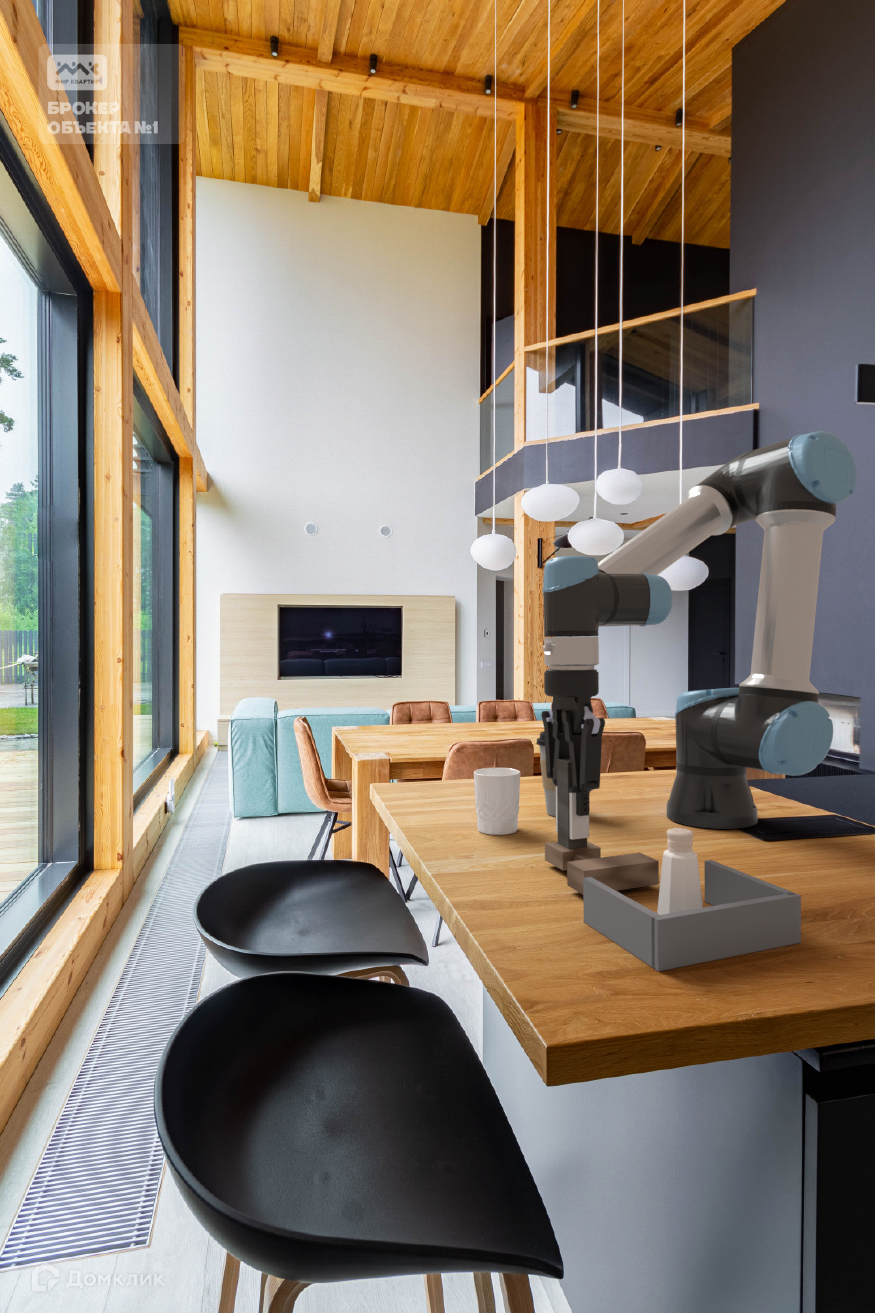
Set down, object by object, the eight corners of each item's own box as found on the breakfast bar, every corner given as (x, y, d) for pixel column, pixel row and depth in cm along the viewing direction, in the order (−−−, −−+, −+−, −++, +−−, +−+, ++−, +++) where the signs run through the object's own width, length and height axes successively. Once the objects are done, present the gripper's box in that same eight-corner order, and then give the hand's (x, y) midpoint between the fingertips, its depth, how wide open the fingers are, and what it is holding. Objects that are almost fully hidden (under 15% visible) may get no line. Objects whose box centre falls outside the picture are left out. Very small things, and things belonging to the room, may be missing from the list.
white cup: (471, 825, 127) (470, 768, 127) (516, 823, 128) (515, 767, 128) (477, 837, 119) (477, 776, 119) (525, 835, 120) (524, 775, 120)
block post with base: (596, 853, 107) (595, 755, 106) (658, 884, 93) (658, 771, 93) (529, 862, 103) (528, 760, 103) (583, 895, 89) (583, 777, 89)
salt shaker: (691, 944, 77) (691, 839, 76) (645, 929, 80) (644, 830, 80) (715, 929, 80) (714, 830, 80) (670, 916, 84) (669, 821, 84)
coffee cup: (588, 820, 129) (587, 736, 129) (535, 818, 131) (534, 735, 131) (588, 808, 139) (587, 730, 138) (538, 807, 140) (537, 729, 140)
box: (711, 900, 89) (711, 859, 89) (800, 942, 76) (800, 895, 76) (583, 921, 83) (583, 878, 83) (658, 971, 70) (657, 920, 70)
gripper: (521, 666, 108) (522, 824, 109) (577, 670, 93) (579, 852, 94) (565, 665, 111) (566, 819, 111) (627, 669, 96) (628, 846, 96)
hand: (572, 834), depth 102 cm, fingers closed on block post with base, 3 cm apart
